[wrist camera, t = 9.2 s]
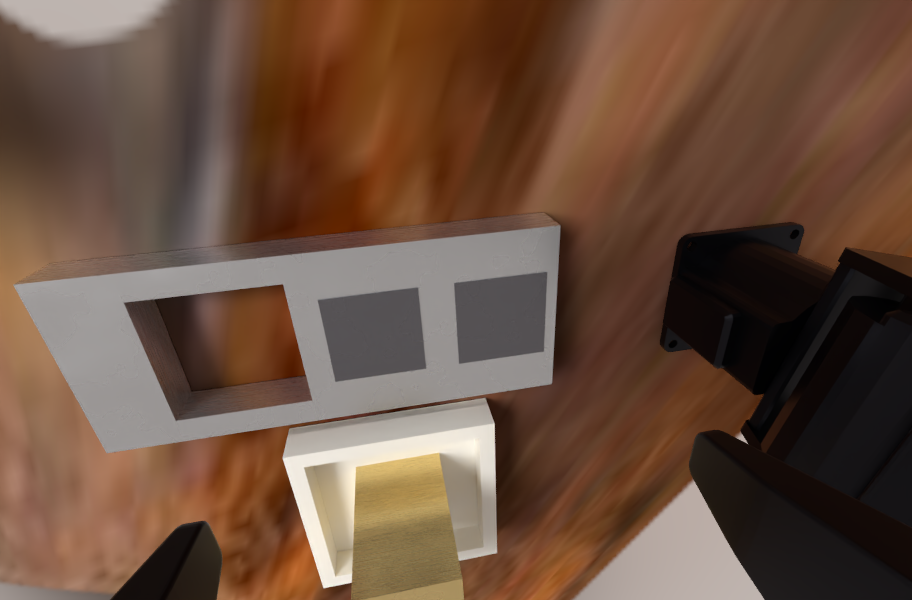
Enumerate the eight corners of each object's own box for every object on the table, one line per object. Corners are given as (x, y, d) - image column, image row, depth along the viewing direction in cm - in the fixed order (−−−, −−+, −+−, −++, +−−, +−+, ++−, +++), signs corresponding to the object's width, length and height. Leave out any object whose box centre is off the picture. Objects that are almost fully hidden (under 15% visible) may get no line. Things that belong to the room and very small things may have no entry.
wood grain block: (438, 452, 25) (462, 578, 18) (444, 508, 27) (467, 638, 20) (355, 466, 24) (351, 602, 18) (368, 522, 26) (367, 661, 20)
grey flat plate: (543, 212, 20) (560, 225, 18) (538, 361, 24) (552, 384, 22) (49, 263, 17) (12, 285, 16) (128, 421, 21) (106, 453, 19)
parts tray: (485, 397, 24) (494, 423, 22) (489, 523, 29) (496, 553, 27) (289, 428, 23) (282, 458, 21) (326, 555, 27) (323, 588, 26)
